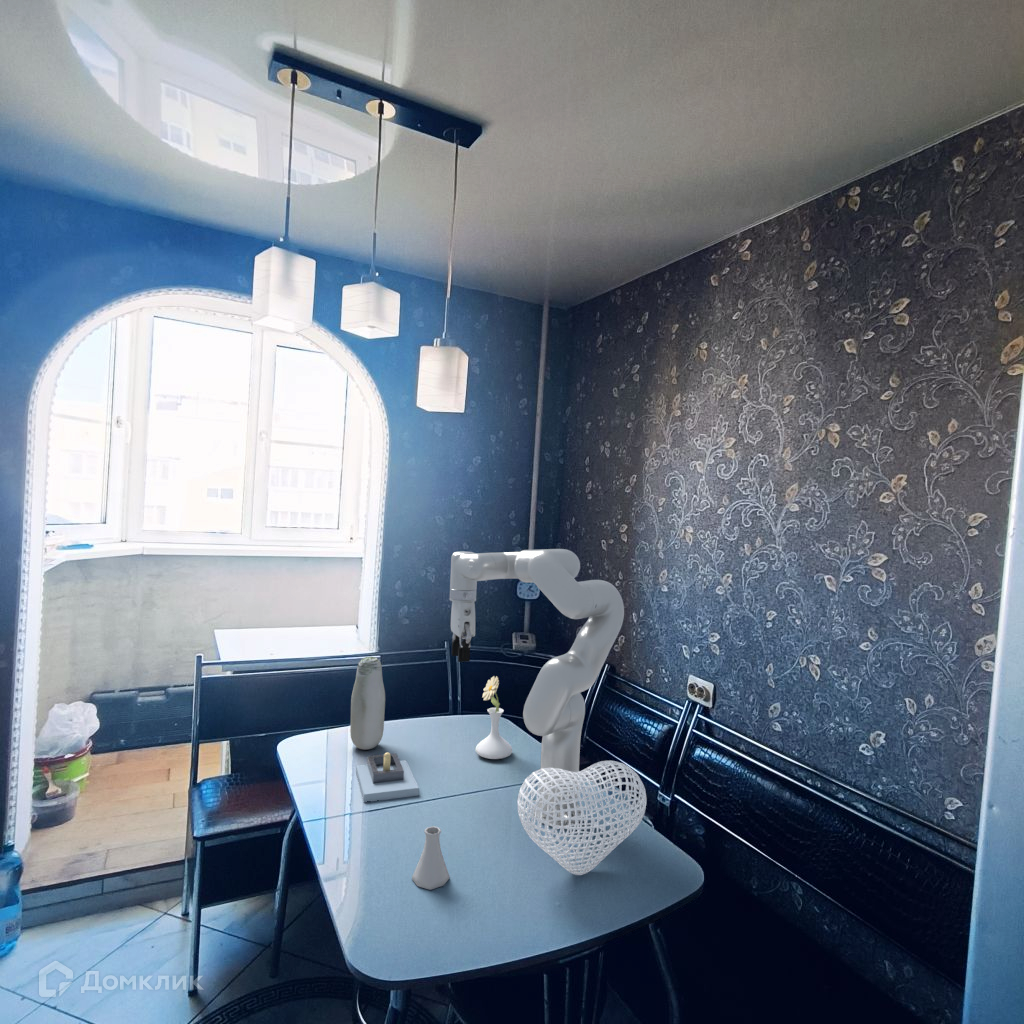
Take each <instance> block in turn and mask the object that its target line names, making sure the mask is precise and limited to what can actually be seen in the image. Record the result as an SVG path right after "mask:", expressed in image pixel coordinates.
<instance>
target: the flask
mask: <svg viewBox="0 0 1024 1024" xmlns="http://www.w3.org/2000/svg"><path fill="white" fill-rule="evenodd" d="M441 833H442V829H440V827H439V826H435V825H432V826H429V827H428V826H427V827H426V828H425V829H424V835H425V839H424V840H425V841H424V846H423V849H422V852H421V855H420V857H419V860H418V863H417V864H416V867H415V869H414V871H413V873H412V876H411V880H412V881H413V883H414V884H415V885H416V887H419V888H424V889H426V890H430V891H431V890H434V889H437V888H439V887H442V886H443V887H444V886H445V885H446V883H447V882H448V880H449V879H450V878H451V876H450V874H449V871H448V867H447V865H446V863H445V858H444V855H443V852H442V848H441V843H440V836H441V835H440V834H441Z"/></svg>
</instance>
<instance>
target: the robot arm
mask: <svg viewBox="0 0 1024 1024" xmlns="http://www.w3.org/2000/svg"><path fill="white" fill-rule="evenodd" d="M580 569H581V561H580V559H579V557H578V556H577V554H575V552H574V551H571V550H570V549H566V548H565V549H564V548H548V549H547V548H546V549H545V548H544V549H543V548H542V549H522V550H520V551H509V552H507V551H506V552H505V551H503V552H502V551H501V552H480V553H479V552H478V553H476V552H472V551H464V550H463V551H459V550H458V551H454V552H453V553H452V555H451V560H450V580H449V581H450V582H449V601H450V602H451V611H450V612H451V613H450V631H451V633H452V638H451V639H452V640H451V641H452V642H451V656H453V657H456V656H457V660H458V662H459V663H469V662H470V661H471V660H470V659H471V641H472V638H474V637H475V636H476V606H475V605H476V604H475V602H476V601H477V586H478V585H477V584H478V583H477V582H481V581H482V582H483V581H484V582H485V581H490V580H506V579H507V580H508V579H511V580H512V579H517V580H519V581H520V582H522V583H533V584H535V585H536V587H537V588H538V589H539V590H540V591H541V592H542V593H543V595H544V596H545V597H546V598H547V599H548V601H550V602H551V603H552V604H553V606H554V607H555V608H556V609H557V610H558V611H559V612H560V613H561V614H562V615H563V616H565V617H567V618H569V619H572V620H580V619H587V618H588V619H587V621H586V622H585V623H584V624H583V626H581V628H580V629H579V631H578V633H577V635H576V637H575V639H574V642H573V643H572V645H571V647H570V649H569V650H568V651H567V652H566V653H564V654H561V655H558V656H554V657H552V658H551V659H549V660H548V661H547V662H545V664H543V666H542V667H541V669H540V671H539V673H538V674H537V676H536V679H535V681H534V683H533V685H532V686H531V689H530V691H529V694H528V695H527V697H526V700H525V703H524V704H523V711H522V717H523V722H524V724H525V727H526V729H527V730H528V731H529V732H530V733H532V734H533V735H535V736H538V737H539V736H540V737H542V738H541V747H540V749H541V751H540V769H542V768H558V769H563V770H567V771H571V772H579V771H580V754H581V753H580V752H581V751H580V750H581V740H582V739H581V738H582V737H581V736H582V730H583V724H584V720H585V715H586V704H585V699H584V697H583V695H582V692H585V691H587V690H589V689H590V688H592V687H593V685H594V683H595V682H596V681H597V679H598V677H599V675H600V672H601V670H602V668H603V666H604V664H605V662H606V660H607V657H608V655H609V654H610V651H611V649H612V647H613V645H614V643H615V641H616V639H617V638H618V635H619V633H620V631H621V629H622V626H623V622H624V618H625V606H624V602H623V601H624V600H623V598H622V596H621V594H620V592H619V590H618V589H617V587H616V586H615V585H613V583H610V582H609V581H606V580H602V579H590V580H584V581H583V580H582V581H577V580H576V579H575V578H576V577H577V576H578V574H579V572H580ZM547 772H548V771H547ZM549 772H552V771H549ZM559 774H561V773H559ZM549 775H551V774H549ZM546 776H547V775H544V776H542V777H546ZM574 776H575V775H574ZM577 777H578V776H577ZM552 778H553V777H552ZM558 778H559V776H555V777H554V779H558ZM562 778H563V777H562ZM572 779H574V778H572ZM548 781H550V780H548V779H547V782H548ZM561 781H562V780H561ZM566 781H569V780H566ZM543 782H544V783H545V780H544V781H543ZM573 783H574V782H573ZM540 784H541V783H540ZM559 784H562V783H561V782H559ZM575 784H577V782H575ZM547 785H551V783H549V784H547ZM554 785H555V784H554V782H553V784H552V786H554ZM572 786H573V785H570V787H572ZM540 787H541V786H540ZM560 787H562V786H560ZM564 787H566V785H564ZM549 788H550V787H549ZM576 789H577V790H578V786H577V787H576ZM543 790H544V787H542V788H541V789H540V790H539V792H543ZM546 790H547V789H546V788H545V791H546ZM564 790H568V789H564ZM564 790H563V791H564ZM570 790H573V788H572V789H570ZM551 791H552V792H553V793H554V794H555V791H556V788H553V789H551ZM558 792H560V790H559V789H557V793H558ZM546 793H549V791H548V792H546ZM572 793H573V792H572ZM564 794H565V795H567V792H565V793H564ZM569 794H570V792H569ZM540 795H541V794H540ZM558 795H561V794H558ZM548 797H549V795H545V794H544V798H545V799H546V800H547V799H548ZM550 797H551V795H550ZM556 797H557V798H558V800H559V801H561V797H559V796H556ZM554 798H555V797H553V798H551V799H550V801H549V802H554ZM571 798H572V796H569V799H571ZM575 798H578V796H577V794H576V795H575ZM562 800H565V798H564V797H563V798H562ZM539 801H542V798H540V800H539ZM557 802H558V801H557V800H556V803H557ZM565 802H566V801H565ZM569 802H570V801H569ZM543 804H544V803H543ZM551 805H552V806H553V805H554V804H551ZM569 805H570V808H574V803H570V804H569ZM547 806H548V804H545V806H544V808H543V810H544V811H547ZM576 806H577V808H579V807H580V804H578V802H576ZM538 807H539V808H541V807H542V803H538ZM562 807H563V809H567V804H562ZM533 808H534V806H533ZM550 808H551V806H550V805H549V810H550ZM535 809H536V808H535ZM555 809H556V810H557V811H558V810H560V805H559V804H557V805H556V806H555ZM551 811H554V809H553V808H552V810H551ZM532 812H533V810H532ZM535 812H536V811H534V815H533V816H535ZM549 814H551V815H553V813H549ZM538 815H539V812H537V818H538ZM555 815H556V813H555ZM580 815H581V810H577V816H580ZM546 816H547V815H546V814H544V813H543V815H542V819H543V820H546ZM574 816H575V810H574V811H571V817H574ZM557 817H561V814H560V812H558V813H557ZM540 818H541V815H540ZM564 818H568V812H564ZM578 818H581V817H578ZM548 820H553V818H552V817H550V816H549V819H548ZM578 822H579V823H580V822H581V820H578ZM548 823H551V824H553V823H554V821H552V822H548ZM572 824H575V820H571V825H572ZM556 825H558V826H561V820H559V821H556ZM566 825H569V820H564V822H563V826H566Z"/></svg>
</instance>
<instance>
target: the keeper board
mask: <svg viewBox="0 0 1024 1024" xmlns="http://www.w3.org/2000/svg"><path fill="white" fill-rule="evenodd" d="M390 754H391V753H390V752H385V753H383V755H384V764H383V766H376V767H377V770H378V771H385V770H394V769H393V766H392V765H390V758H391V755H390ZM399 761H400V763H401V765H402V768H403V770H404V780H400V781H391V782H382V783H374V784H373V782H372V779H371V775H370V772H369V769H368V766H367V763H366V764H359V765H358V764H357V765H355V774H356V775H355V776H356V779H357V778H358V779H357V783H358V782H359V783H358V786H360V787H359V790H360V794H361V797H363V798H362V801H364V802H363V803H368V802H367V801H371V802H377V800H379V801H385V800H387V801H388V800H395V799H402V798H410V797H418V796H419V791H420V787H419V784H418V783H417V781H416V779H415V776H414V775H413V774H414V773H413V771H411V770H412V769H411V768H410V766H409V763H408V761H407V760H405V759H403V760H399Z"/></svg>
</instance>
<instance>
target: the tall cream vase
mask: <svg viewBox="0 0 1024 1024" xmlns="http://www.w3.org/2000/svg"><path fill="white" fill-rule="evenodd" d="M382 669H383V667H382V663H381V661H380V659H378V658H377V657H375V656H365V657H363V658H362V659H360V661H359V662H358V663H357V668H356V674H355V681H354V684H353V688H352V691H351V692H352V693H351V696H350V697H351V699H350V725H349V726H350V729H349V731H350V739H351V741H352V743H353V745H354V746H355V747H356V748H357V749H359V750H363V751H366V750H371V749H373V748H375V747H377V746H378V745H379V744H380V742H381V741H382V739H383V736H384V730H385V729H384V728H385V709H386V690H385V685H384V681H383V670H382Z"/></svg>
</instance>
